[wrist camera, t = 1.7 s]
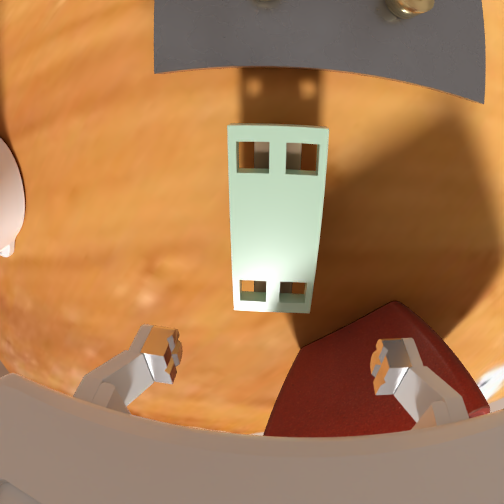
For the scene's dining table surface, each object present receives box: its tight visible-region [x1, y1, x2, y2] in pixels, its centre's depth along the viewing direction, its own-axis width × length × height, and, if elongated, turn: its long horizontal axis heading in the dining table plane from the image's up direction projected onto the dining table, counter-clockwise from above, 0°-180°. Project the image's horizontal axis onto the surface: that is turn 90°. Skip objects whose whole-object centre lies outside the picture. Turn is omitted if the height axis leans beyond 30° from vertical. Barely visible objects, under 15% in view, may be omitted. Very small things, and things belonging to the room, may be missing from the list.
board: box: [227, 123, 329, 313], centre depth 21 cm, size 14×6×1 cm, turn 0°
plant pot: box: [263, 301, 490, 437], centre depth 26 cm, size 19×19×17 cm
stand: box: [254, 142, 302, 293], centre depth 23 cm, size 3×12×4 cm, turn 0°
